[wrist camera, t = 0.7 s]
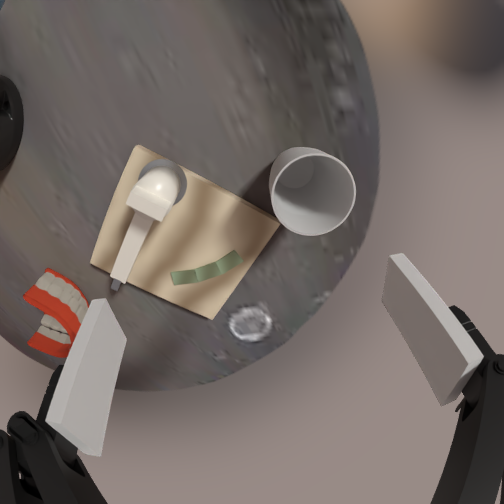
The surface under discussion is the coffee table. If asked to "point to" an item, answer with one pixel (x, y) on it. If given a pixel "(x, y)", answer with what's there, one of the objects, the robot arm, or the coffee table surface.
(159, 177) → the lever
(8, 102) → the robot arm
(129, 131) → the coffee table surface
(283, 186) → the cup
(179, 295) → the board
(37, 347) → the toy
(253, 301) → the coffee table surface
